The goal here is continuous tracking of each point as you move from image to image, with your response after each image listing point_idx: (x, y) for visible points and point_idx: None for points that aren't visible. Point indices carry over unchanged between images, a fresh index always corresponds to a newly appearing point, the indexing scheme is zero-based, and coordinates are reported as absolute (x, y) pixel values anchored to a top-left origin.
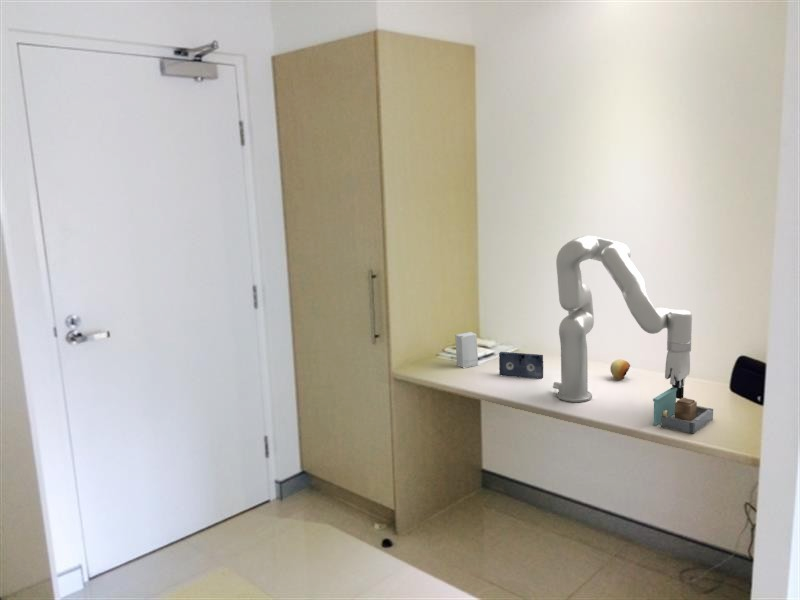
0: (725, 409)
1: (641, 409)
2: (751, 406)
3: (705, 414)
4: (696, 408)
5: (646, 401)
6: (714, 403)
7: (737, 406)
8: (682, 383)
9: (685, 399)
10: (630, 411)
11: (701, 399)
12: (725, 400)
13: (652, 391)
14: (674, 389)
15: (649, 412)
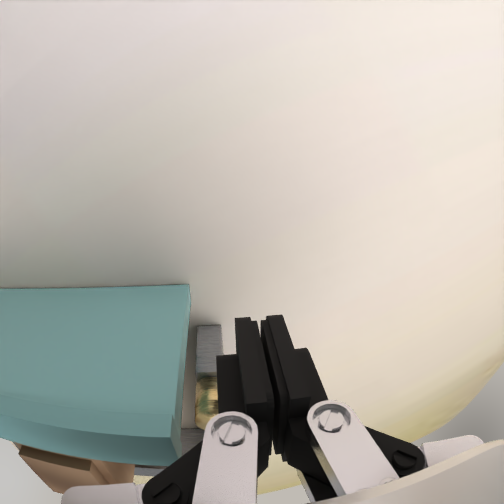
0: (380, 411)
1: (96, 87)
2: (433, 426)
3: (138, 474)
4: (133, 468)
5: (298, 29)
6: (438, 355)
7: (424, 411)
8: (303, 485)
9: (80, 481)
10: (24, 66)
11: (473, 294)
12: (476, 358)
13: (482, 32)
14: (114, 461)
15: (76, 165)
